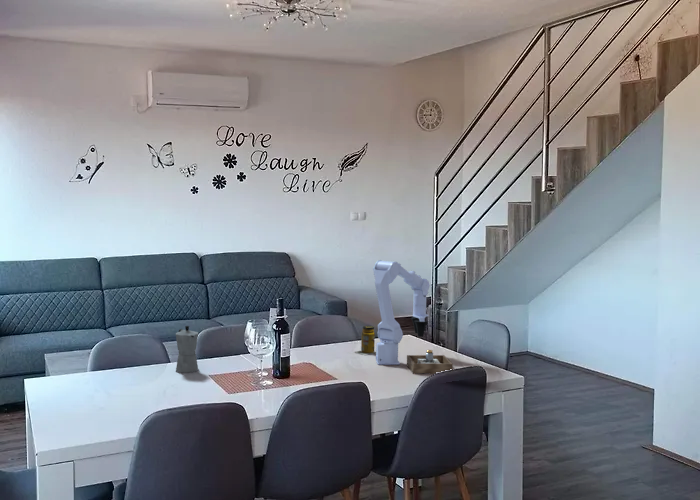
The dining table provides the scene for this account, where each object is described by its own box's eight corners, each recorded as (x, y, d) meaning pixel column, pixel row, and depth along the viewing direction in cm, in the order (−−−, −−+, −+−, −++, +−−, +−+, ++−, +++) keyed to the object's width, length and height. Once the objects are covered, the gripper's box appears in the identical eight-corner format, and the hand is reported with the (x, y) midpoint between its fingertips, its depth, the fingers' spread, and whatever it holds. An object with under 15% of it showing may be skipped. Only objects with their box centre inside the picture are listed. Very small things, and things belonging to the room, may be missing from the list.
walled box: (413, 373, 283) (413, 364, 283) (406, 364, 299) (407, 355, 299) (452, 373, 285) (452, 364, 284) (443, 364, 300) (444, 355, 300)
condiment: (378, 352, 321) (378, 326, 320) (365, 355, 315) (365, 328, 314) (367, 350, 326) (367, 324, 326) (353, 352, 321) (354, 326, 320)
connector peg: (426, 367, 290) (426, 351, 290) (424, 366, 293) (425, 349, 293) (433, 367, 290) (433, 351, 290) (432, 366, 293) (432, 349, 293)
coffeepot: (204, 372, 279) (204, 327, 278) (181, 375, 274) (181, 329, 273) (190, 364, 292) (190, 321, 291) (168, 367, 287) (168, 323, 286)
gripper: (431, 307, 308) (430, 338, 309) (425, 302, 323) (424, 331, 324) (415, 307, 308) (414, 338, 309) (410, 302, 322) (409, 331, 323)
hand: (418, 334), depth 316 cm, fingers open, 7 cm apart
